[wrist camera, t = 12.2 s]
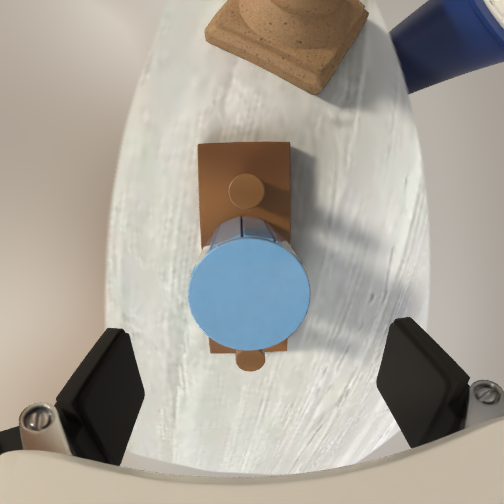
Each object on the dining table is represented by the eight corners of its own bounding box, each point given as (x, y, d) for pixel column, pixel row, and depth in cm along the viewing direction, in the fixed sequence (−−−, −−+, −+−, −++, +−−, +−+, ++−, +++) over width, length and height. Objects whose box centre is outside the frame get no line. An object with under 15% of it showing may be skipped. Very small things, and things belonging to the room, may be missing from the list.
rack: (200, 145, 22) (182, 132, 15) (286, 144, 22) (308, 130, 15) (211, 344, 27) (204, 397, 19) (284, 342, 27) (298, 393, 20)
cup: (270, 204, 22) (287, 219, 14) (298, 279, 24) (324, 327, 16) (191, 235, 22) (167, 266, 15) (223, 307, 24) (218, 364, 16)
